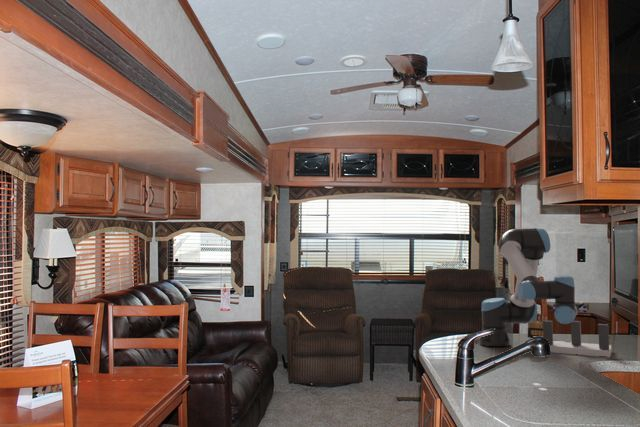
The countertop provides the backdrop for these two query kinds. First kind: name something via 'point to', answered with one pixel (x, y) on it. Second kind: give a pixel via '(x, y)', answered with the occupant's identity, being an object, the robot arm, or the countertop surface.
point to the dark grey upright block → (576, 332)
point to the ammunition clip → (536, 327)
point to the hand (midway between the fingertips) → (573, 303)
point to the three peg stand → (584, 348)
